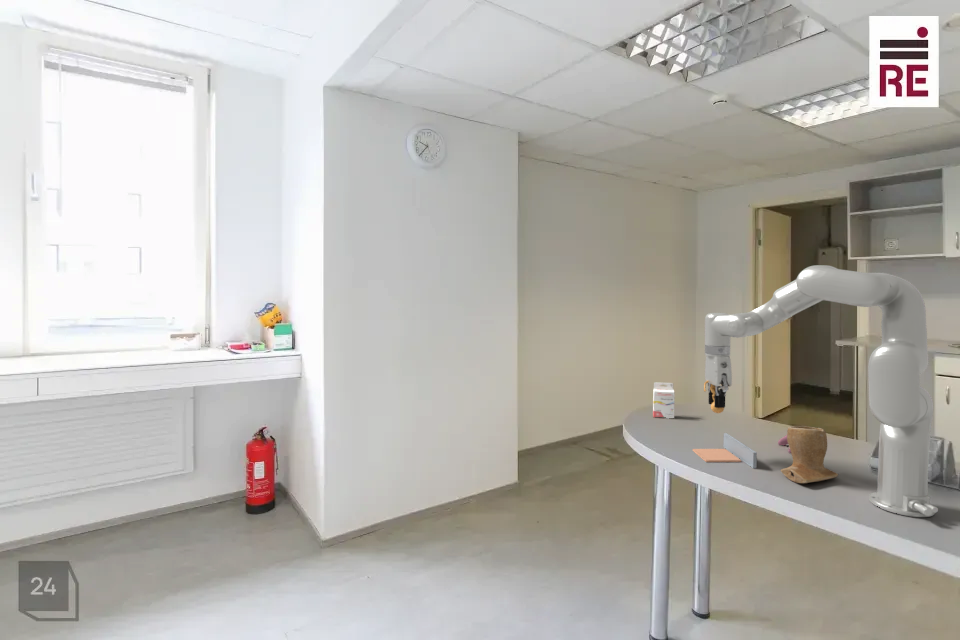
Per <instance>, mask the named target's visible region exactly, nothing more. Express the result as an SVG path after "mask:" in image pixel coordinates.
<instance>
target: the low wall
mask: <svg viewBox="0 0 960 640" xmlns="http://www.w3.org/2000/svg"><path fill="white" fill-rule="evenodd" d="M725 448H726V450H728V451H729V452H730V453H733V455H735V456H736V457H737V458H740V460H741V462H744V463H745V464H747V466H749V467H750V466H751V468H752V469H757V457H758V455H757V451H755V450H754V449H752V448H750V447H749V446H747V445H746V444H744V443H743V442H741V441H739V440H738V439H737V438H735V437H733V436H732V435H730V434H729V433H727V432H724V433H723V449H725Z"/></svg>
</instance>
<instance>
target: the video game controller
mask: <svg viewBox="0 0 960 640" xmlns="http://www.w3.org/2000/svg"><path fill="white" fill-rule="evenodd" d="M777 444H778V446H780V445H783V446H786V445H789V444H788V441H787V434H786V435H785V436H783V437H781V438H779V440H778V441H777ZM787 452H788V453H789V454H790V453H791V450H790V447H789V448H788V449H787Z"/></svg>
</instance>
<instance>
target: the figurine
mask: <svg viewBox="0 0 960 640" xmlns="http://www.w3.org/2000/svg"><path fill="white" fill-rule="evenodd" d="M708 382H709V381H708V380H707V381H706V380H705V382H704V383H703V392H707V389H706V385H707V384H708ZM720 386H722V384H720ZM710 390H711V391H712V393H713V394H714V395H712V397H713V400H715V398H714V396H715V394H716V393H715V391H716V389H715V386H714V385H712V384H711V388H710ZM710 408H711V409H710V410H711V411H712V412H713V413H715V414H721V413H723V412H724V410H725V407H724V408H716V407H714V402H713V403H712V404H710Z"/></svg>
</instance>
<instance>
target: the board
mask: <svg viewBox="0 0 960 640" xmlns="http://www.w3.org/2000/svg"><path fill="white" fill-rule="evenodd" d="M692 452H694V453H695V454H696V455H697V456H698V457H699V458H701V459H702V460H703V461H704V462H706V463H742V460H741V459H739V458H738V457H737V456H735V455H734V454H732V453H731V452H730V451H728V450H727V449H725V448H692Z"/></svg>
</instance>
